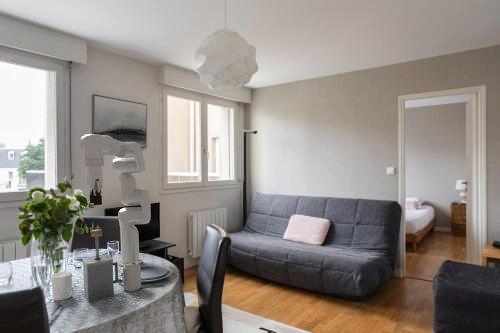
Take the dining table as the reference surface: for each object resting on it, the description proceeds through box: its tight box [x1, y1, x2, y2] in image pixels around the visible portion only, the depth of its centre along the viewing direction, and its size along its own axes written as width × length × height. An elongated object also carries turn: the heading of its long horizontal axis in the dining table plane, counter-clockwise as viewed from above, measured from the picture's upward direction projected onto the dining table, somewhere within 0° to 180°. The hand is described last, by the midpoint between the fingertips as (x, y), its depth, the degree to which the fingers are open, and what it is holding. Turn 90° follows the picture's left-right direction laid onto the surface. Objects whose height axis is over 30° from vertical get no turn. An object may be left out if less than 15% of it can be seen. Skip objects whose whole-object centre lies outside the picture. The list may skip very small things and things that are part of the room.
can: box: [122, 261, 142, 292], centre depth 151 cm, size 8×8×12 cm
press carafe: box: [81, 253, 119, 303], centre depth 145 cm, size 10×13×16 cm
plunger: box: [90, 228, 103, 260], centre depth 144 cm, size 4×4×14 cm
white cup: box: [50, 270, 73, 302], centre depth 144 cm, size 8×8×10 cm
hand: (95, 203), depth 144 cm, fingers open, 7 cm apart
